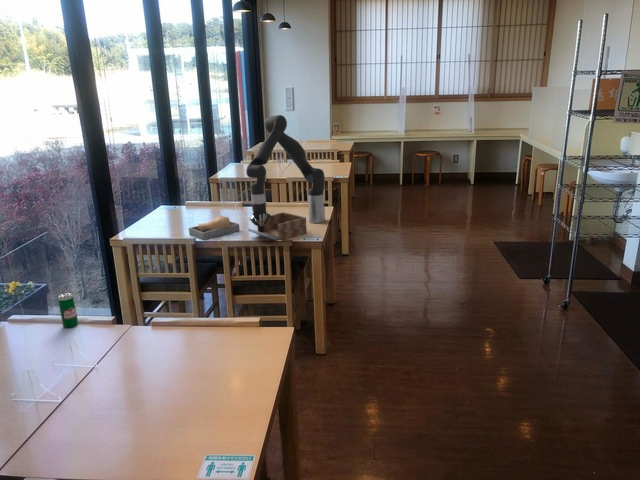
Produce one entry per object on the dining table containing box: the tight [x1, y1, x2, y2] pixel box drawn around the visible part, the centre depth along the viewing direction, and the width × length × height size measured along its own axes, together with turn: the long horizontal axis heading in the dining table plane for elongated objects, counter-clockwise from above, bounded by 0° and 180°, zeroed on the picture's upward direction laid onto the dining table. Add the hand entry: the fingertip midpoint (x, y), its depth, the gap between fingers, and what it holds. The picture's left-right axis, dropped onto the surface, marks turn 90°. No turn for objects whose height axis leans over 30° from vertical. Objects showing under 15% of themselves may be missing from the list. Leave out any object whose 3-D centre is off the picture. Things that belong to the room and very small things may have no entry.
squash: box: [197, 215, 231, 232], centre depth 292 cm, size 11×20×9 cm, turn 86°
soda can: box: [57, 292, 79, 329], centre depth 180 cm, size 5×5×12 cm
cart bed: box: [257, 211, 308, 241], centre depth 285 cm, size 20×20×10 cm
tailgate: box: [248, 228, 278, 241], centre depth 276 cm, size 1×17×8 cm
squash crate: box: [188, 220, 241, 241], centre depth 292 cm, size 25×16×4 cm, turn 134°
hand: (261, 232), depth 275 cm, fingers closed
